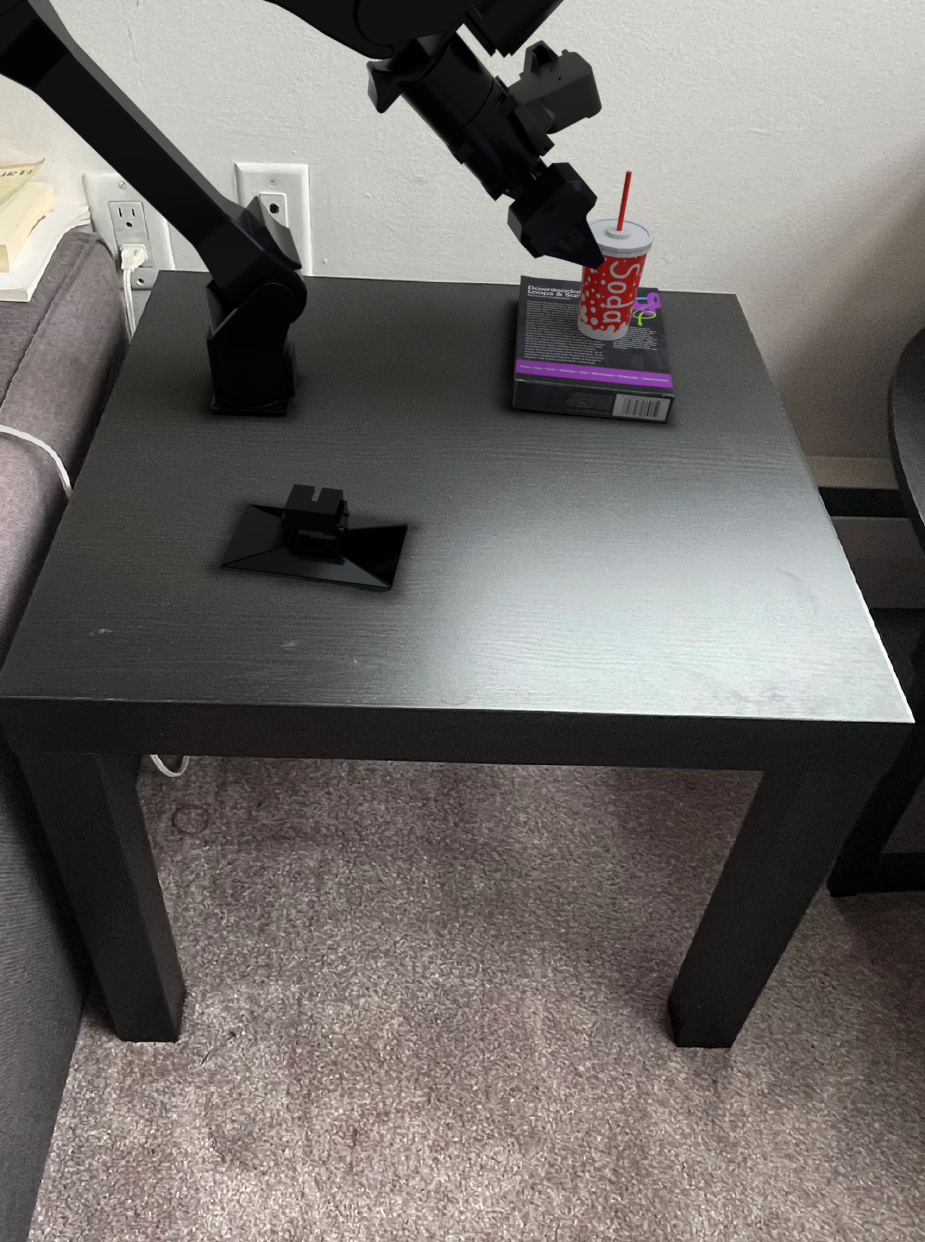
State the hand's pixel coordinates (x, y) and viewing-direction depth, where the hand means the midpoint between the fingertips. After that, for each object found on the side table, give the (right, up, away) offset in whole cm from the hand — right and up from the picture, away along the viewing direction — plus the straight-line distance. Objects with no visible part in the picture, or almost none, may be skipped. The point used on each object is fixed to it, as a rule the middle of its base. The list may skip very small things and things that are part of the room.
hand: (580, 239), depth 83 cm
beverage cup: (+3, -6, +7) cm, 9 cm away
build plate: (-21, -27, -11) cm, 36 cm away
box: (+2, -8, +9) cm, 12 cm away
